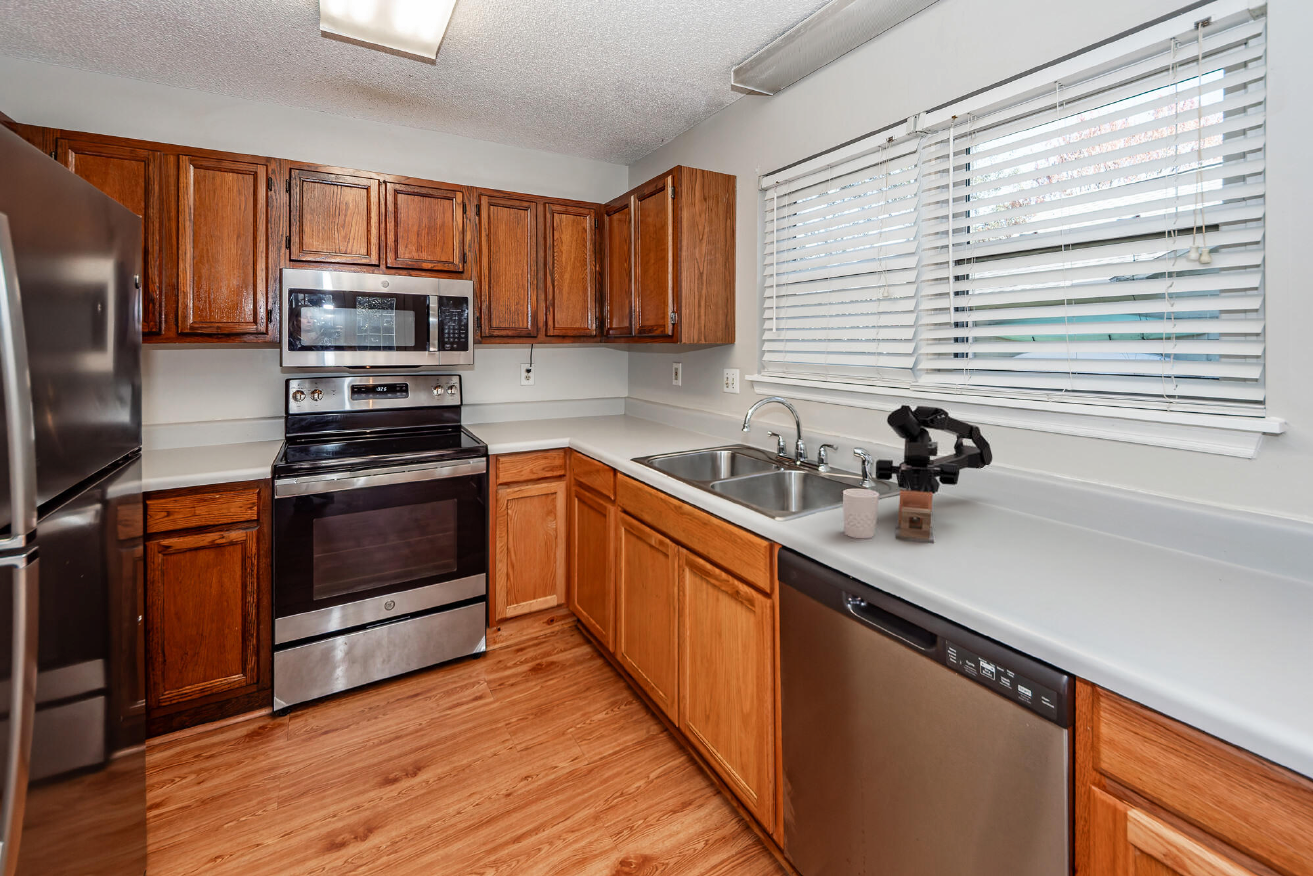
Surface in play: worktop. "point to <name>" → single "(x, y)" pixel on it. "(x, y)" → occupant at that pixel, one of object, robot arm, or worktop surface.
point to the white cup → (860, 512)
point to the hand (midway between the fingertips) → (915, 501)
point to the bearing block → (915, 531)
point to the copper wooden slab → (914, 503)
